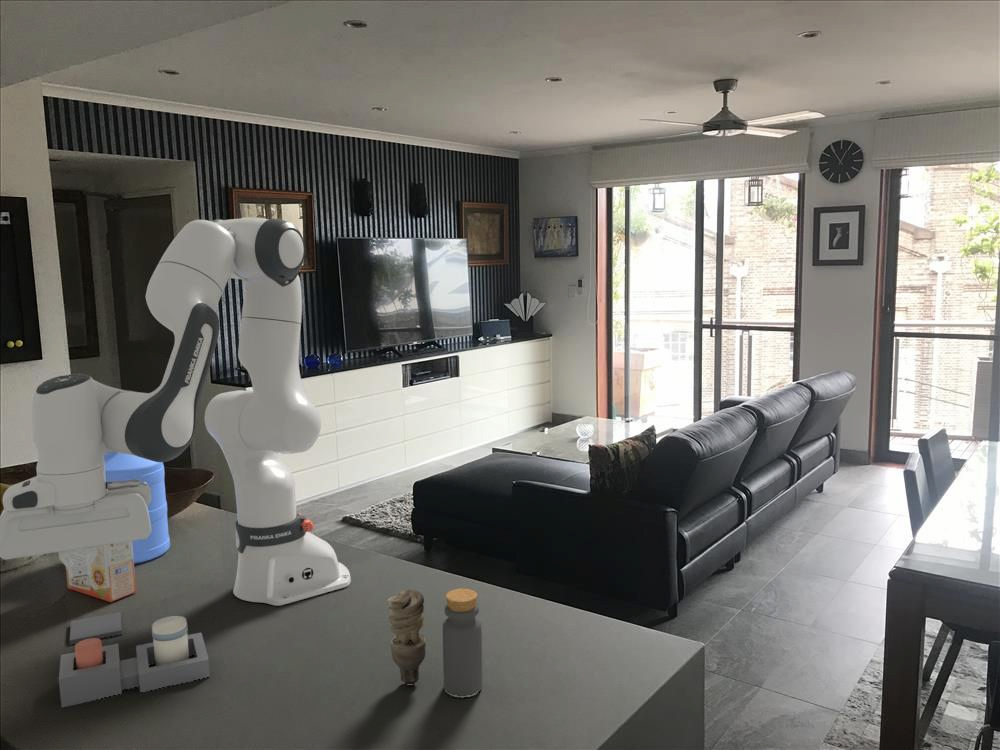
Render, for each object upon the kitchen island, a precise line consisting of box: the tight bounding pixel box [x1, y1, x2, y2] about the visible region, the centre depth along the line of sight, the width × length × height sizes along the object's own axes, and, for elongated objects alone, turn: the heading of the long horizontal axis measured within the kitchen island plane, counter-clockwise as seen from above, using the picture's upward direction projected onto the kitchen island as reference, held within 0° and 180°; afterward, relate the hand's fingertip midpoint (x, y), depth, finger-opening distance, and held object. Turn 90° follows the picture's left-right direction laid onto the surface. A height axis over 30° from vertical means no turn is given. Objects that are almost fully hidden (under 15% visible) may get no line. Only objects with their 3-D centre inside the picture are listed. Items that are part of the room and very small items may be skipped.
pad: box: [69, 611, 123, 645], centre depth 142 cm, size 8×8×1 cm
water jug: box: [104, 451, 171, 565], centre depth 175 cm, size 16×16×28 cm
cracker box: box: [65, 490, 137, 603], centre depth 157 cm, size 14×6×21 cm, turn 59°
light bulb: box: [386, 589, 427, 685], centre depth 122 cm, size 6×6×15 cm
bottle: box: [442, 588, 483, 696], centre depth 121 cm, size 6×6×15 cm
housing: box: [58, 632, 211, 709], centre depth 125 cm, size 20×10×4 cm, turn 116°
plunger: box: [74, 638, 103, 670], centre depth 122 cm, size 4×4×5 cm
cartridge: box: [151, 615, 190, 667], centre depth 127 cm, size 5×5×8 cm
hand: (80, 575), depth 120 cm, fingers closed
